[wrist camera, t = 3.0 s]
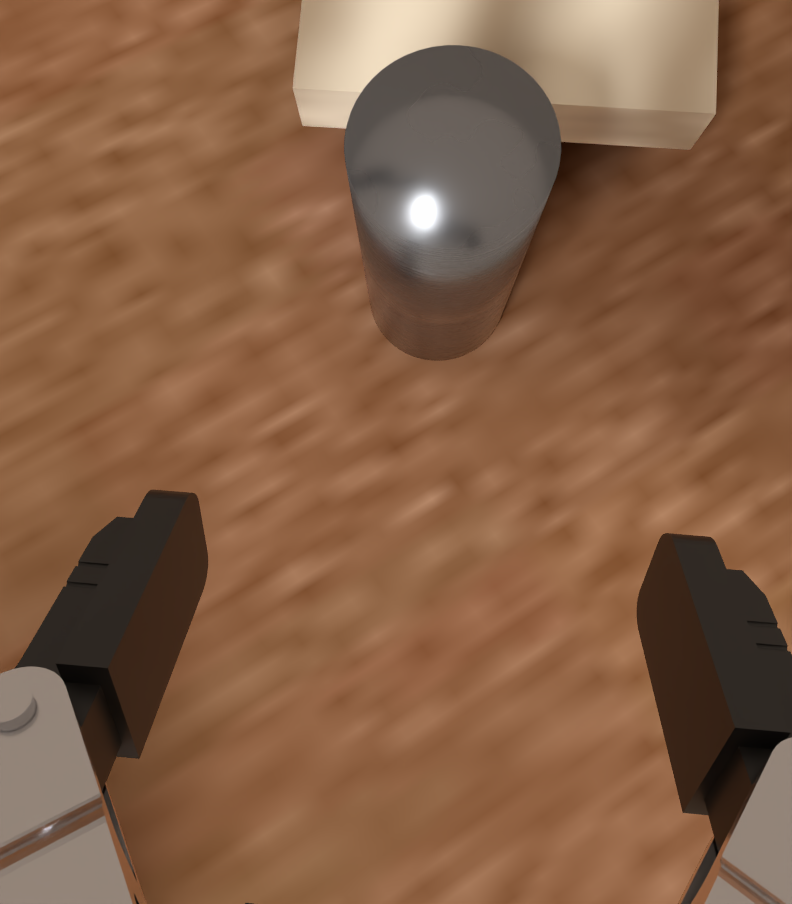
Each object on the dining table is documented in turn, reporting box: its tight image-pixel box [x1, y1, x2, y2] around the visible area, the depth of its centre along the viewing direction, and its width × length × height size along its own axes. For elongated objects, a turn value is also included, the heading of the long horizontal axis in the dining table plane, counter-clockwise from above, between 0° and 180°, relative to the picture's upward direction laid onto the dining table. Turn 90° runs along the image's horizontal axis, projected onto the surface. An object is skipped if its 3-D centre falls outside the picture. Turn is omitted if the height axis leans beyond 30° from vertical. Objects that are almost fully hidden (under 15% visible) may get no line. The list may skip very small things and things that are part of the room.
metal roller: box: [344, 45, 561, 360], centre depth 21 cm, size 5×5×10 cm
